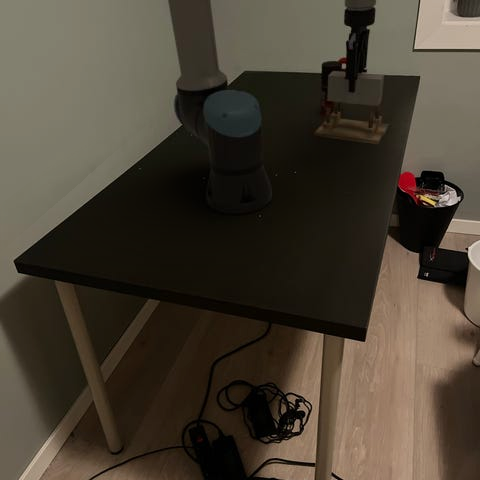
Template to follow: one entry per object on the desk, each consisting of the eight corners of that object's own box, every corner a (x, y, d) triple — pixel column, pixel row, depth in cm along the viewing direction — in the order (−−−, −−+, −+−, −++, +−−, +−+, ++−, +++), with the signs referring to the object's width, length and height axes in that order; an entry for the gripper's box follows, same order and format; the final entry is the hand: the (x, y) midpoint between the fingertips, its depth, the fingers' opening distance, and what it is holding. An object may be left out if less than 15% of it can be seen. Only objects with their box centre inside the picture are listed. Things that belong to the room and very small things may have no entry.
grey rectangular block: (377, 105, 127) (380, 79, 123) (327, 100, 133) (328, 75, 129) (381, 100, 130) (384, 74, 126) (332, 96, 136) (333, 71, 132)
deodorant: (316, 114, 150) (317, 65, 141) (327, 108, 153) (329, 59, 144) (332, 117, 146) (334, 67, 137) (343, 111, 149) (346, 62, 141)
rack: (377, 144, 129) (380, 117, 124) (314, 136, 136) (315, 110, 132) (388, 127, 137) (391, 102, 133) (328, 120, 145) (329, 96, 140)
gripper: (365, 15, 110) (359, 112, 124) (384, 0, 122) (376, 90, 136) (334, 14, 113) (331, 109, 127) (355, 0, 125) (350, 88, 139)
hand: (354, 99), depth 131 cm, fingers closed on grey rectangular block, 4 cm apart
